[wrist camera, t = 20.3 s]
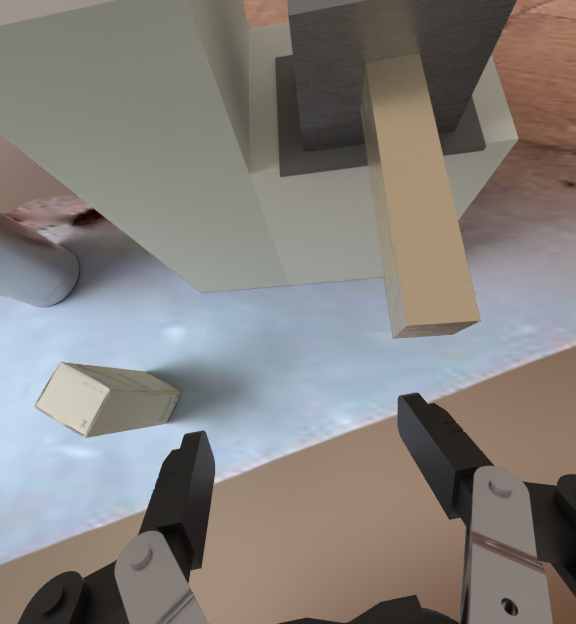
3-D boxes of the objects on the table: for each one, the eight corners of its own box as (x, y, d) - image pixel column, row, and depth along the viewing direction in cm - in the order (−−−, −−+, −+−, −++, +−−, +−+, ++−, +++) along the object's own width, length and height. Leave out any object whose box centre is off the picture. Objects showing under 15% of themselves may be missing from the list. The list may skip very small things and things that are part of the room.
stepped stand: (204, 206, 43) (-41, -166, 15) (402, 181, 40) (588, -361, 11) (200, 296, 39) (-145, 32, 11) (419, 277, 36) (767, -177, 7)
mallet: (297, 70, 20) (282, -87, 14) (433, 47, 19) (488, -136, 13) (316, 351, 15) (306, 315, 8) (506, 339, 14) (667, 289, 7)
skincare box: (183, 390, 36) (114, 388, 25) (165, 426, 35) (85, 440, 24) (142, 370, 38) (59, 359, 26) (124, 403, 37) (30, 407, 25)
